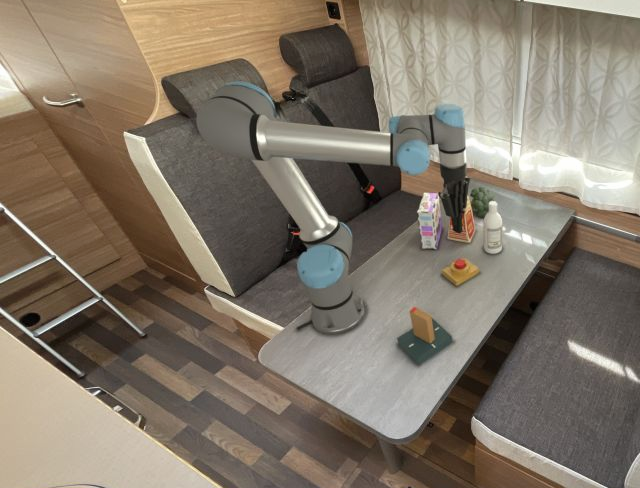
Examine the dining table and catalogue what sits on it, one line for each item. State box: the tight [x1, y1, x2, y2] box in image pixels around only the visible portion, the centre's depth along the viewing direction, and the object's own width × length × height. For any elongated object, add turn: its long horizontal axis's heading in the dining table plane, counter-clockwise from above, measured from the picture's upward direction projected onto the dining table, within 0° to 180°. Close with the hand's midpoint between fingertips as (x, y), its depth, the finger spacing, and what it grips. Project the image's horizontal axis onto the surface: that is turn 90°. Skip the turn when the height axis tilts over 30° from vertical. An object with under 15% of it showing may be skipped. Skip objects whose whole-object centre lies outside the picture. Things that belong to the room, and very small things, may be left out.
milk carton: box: [447, 195, 476, 244], centre depth 152 cm, size 9×9×20 cm
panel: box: [396, 316, 453, 366], centre depth 116 cm, size 12×10×3 cm
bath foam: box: [482, 200, 504, 255], centre depth 146 cm, size 7×7×20 cm
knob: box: [409, 306, 435, 343], centre depth 112 cm, size 6×2×10 cm, turn 59°
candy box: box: [416, 192, 443, 250], centre depth 150 cm, size 14×6×16 cm, turn 179°
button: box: [454, 258, 466, 269], centre depth 138 cm, size 4×4×2 cm
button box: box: [441, 257, 480, 287], centre depth 140 cm, size 10×8×4 cm
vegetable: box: [469, 186, 495, 219], centre depth 167 cm, size 12×13×15 cm
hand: (457, 231), depth 129 cm, fingers closed
